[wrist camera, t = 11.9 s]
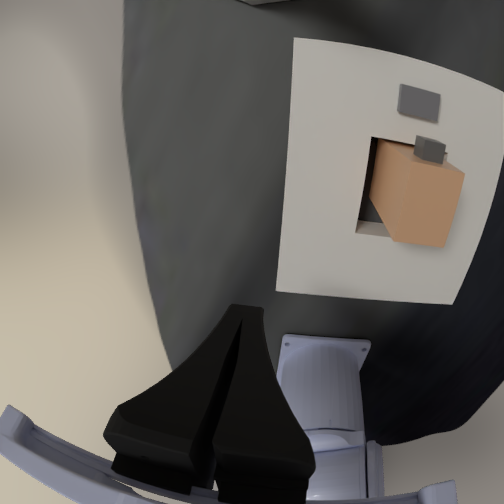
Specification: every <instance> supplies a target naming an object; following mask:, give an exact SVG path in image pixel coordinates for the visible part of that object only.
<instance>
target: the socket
mask: <svg viewBox="0 0 504 504" xmlns="http://www.w3.org/2000/svg"><path fill="white" fill-rule="evenodd" d="M416 135H418V136H423V137H427V138H431V139H435V140H437V141H439V142H441V143H443V144H445V145H446V149H445V154H444V160H445V161H447V162H448V163H450V164H452V165H453V166H455V167H456V168H458V169H459V170H461V171H462V172H463V173H465V177H464V181H463V185H462V189H461V193H460V197H459V200H458V204H457V208H456V211H455V214H454V218H453V221H452V224H451V228H450V231H449V234H448V237H447V240H446V243H445V246H444V248H441V247H434V246H426V245H418V244H411V243H403V242H394V241H393V240H392V238H391V236H390V234H389V232H388V230H387V229H386V227H385V225H384V224H383V223H376V222H368V221H360V220H358V215H359V210H360V204H361V199H362V193H363V187H364V182H365V176H366V169H367V163H368V156H369V149H370V142H371V136H372V137H378V138H383V139H389V140H394V141H399V142H404V143H409V144H413V145H415V140H416ZM503 156H504V92H502V91H500V90H498V89H496V88H494V87H491V86H489V85H487V84H485V83H482V82H480V81H478V80H475V79H473V78H470V77H468V76H465V75H463V74H460V73H457V72H454V71H452V70H449V69H446V68H443V67H440V66H437V65H434V64H431V63H428V62H424V61H421V60H417V59H414V58H410V57H407V56H403V55H399V54H395V53H391V52H386V51H382V50H377V49H373V48H368V47H362V46H357V45H351V44H345V43H338V42H331V41H323V40H315V39H305V38H294V49H293V70H292V90H291V107H290V124H289V139H288V154H287V168H286V181H285V194H284V206H283V218H282V230H281V241H280V252H279V263H278V273H277V283H276V291H282V292H292V293H302V294H313V295H324V296H335V297H347V298H359V299H372V300H386V301H401V302H417V303H434V304H453V302H454V300H455V298H456V295H457V293H458V291H459V289H460V287H461V285H462V282H463V280H464V278H465V275H466V273H467V271H468V268H469V266H470V264H471V261H472V259H473V256H474V254H475V251H476V248H477V246H478V243H479V240H480V238H481V235H482V232H483V229H484V226H485V223H486V220H487V217H488V214H489V210H490V207H491V204H492V200H493V197H494V193H495V190H496V186H497V182H498V178H499V174H500V170H501V165H502V161H503Z"/></svg>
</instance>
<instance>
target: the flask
mask: <svg viewBox="0 0 504 504" xmlns="http://www.w3.org/2000/svg"><path fill="white" fill-rule="evenodd" d="M240 1H243V2H246V3H248V4H251V5H256V4H263V3H271V2H279V1H289V0H240Z"/></svg>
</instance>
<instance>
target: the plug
mask: <svg viewBox="0 0 504 504" xmlns="http://www.w3.org/2000/svg"><path fill="white" fill-rule="evenodd" d="M445 149H446V145H445V144H443V143H441V142H439V141H437V140H435V139H431V138H427V137H423V136H418V135H416V140H415V145H413V144H409V143H404V142H399V141H394V140H389V139H383V138H378V144H377V151H376V158H375V164H374V170H373V176H372V182H371V188H370V193H369V198H370V199H371V201H372V203H373V205H374V206H375V208H376V210H377V212H378V214H379V216H380V217H381V219H382V221H383V223H384V225H385V227H386V229H387V230H388V232H389V234H390V236H391V238H392V240H393V241H394V242H403V243H411V244H418V245H426V246H434V247H441V248H444V246H445V243H446V240H447V237H448V234H449V231H450V228H451V224H452V221H453V218H454V214H455V211H456V208H457V204H458V200H459V197H460V193H461V189H462V185H463V181H464V177H465V173H463V172H462V171H461V170H459V169H458V168H456V167H455V166H453V165H452V164H450V163H448V162H447V161H445V160H444V154H445Z"/></svg>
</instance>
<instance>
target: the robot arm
mask: <svg viewBox="0 0 504 504" xmlns="http://www.w3.org/2000/svg"><path fill="white" fill-rule="evenodd" d="M263 314H264V309H263V308H262V307H254V306H245V305H237V304H231V305H230V306H229V307H228V309H227V311H226V312H225V314H224V315H223V317H222V318H221V320H220V321H219V322H218V324H217V325H216V327H215V328H214V329H213V330H212V332H211V333H210V334H209V335H208V337H207V338H206V339H205V340H204V341H203V342H202V343H201V345H200V346H199V347H198V348H197V349H196V350H195V351H194V352H193V353H192V354H191V355H190V356H189V357H188V358H187V359H186V360H185V361H184V362H183V363H182V364H181V365H180V366H178V367H177V368H176V369H175V370H174V371H172V372H171V373H170V374H169V375H167V376H166V377H165V378H163V379H162V380H161V381H159V382H158V383H157V384H155V385H153V386H152V387H150V388H149V389H147V390H146V391H144V392H143V393H141V394H139V395H137V396H135V397H133V398H132V399H130V400H128V401H126V402H124V403H122V404H120V405H118V406H117V408H116V409H115V411H114V413H113V414H112V416H111V417H110V420H109V422H108V424H107V426H106V428H105V430H104V433H103V437H104V439H105V440H106V442H108V444H109V445H110V446H111V447H112V448H113V449H114V450H115V451H116V452H117V453H116V456H115V458H114V461H113V462H112V461H110V460H107V459H104V458H102V457H100V456H97V455H95V454H93V453H90V452H88V451H86V450H84V449H81V448H79V447H77V446H75V445H73V444H71V443H69V442H66V441H65V440H63V439H61V438H59V437H57V436H55V435H53V434H51V433H49V432H47V431H46V430H43V429H42V428H40V427H38V426H37V425H35V424H34V423H33V422H32V421H31V419H30V418H28V417H27V416H26V415H25V414H23V413H22V412H20V411H19V410H17V409H15V408H14V407H12V406H11V405H7V407H6V409H5V410H4V412H3V414H2V416H1V417H0V454H1V455H2V456H4V457H5V458H7V459H8V460H9V461H10V462H12V463H13V464H15V465H16V466H17V467H19V468H20V469H22V470H23V471H25V472H26V473H28V474H29V475H30V476H32V477H33V478H35V479H37V480H38V481H40V482H41V483H43V484H44V485H46V486H48V487H49V488H51V489H53V490H54V491H56V492H58V493H60V494H62V495H63V496H65V497H67V498H69V499H71V500H72V501H75V502H76V503H79V504H166V503H163V502H159V501H155V500H152V499H148V498H145V497H142V496H141V495H139V494H137V493H136V492H135V491H133V489H132V488H131V487H128V486H126V485H124V484H127V485H130V486H133V487H136V488H139V489H142V490H145V491H148V492H151V493H154V494H157V495H161V496H164V497H168V498H172V499H175V500H179V501H183V502H187V503H191V504H458V503H457V493H456V485H455V481H454V480H449V481H445V482H441V483H436V484H432V485H429V486H426V487H424V488H422V489H420V490H419V491H418V492H412V493H407V494H400V495H393V496H385V497H384V475H383V474H384V473H383V459H382V446H380V445H379V444H377V443H376V442H375V441H374V440H372V441H368V442H367V444H366V438H365V433H364V419H363V407H362V396H361V386H360V377H359V371H360V369H361V367H362V365H363V363H364V360H365V358H366V356H367V354H368V352H369V349H370V347H371V342H370V341H369V340H362V339H344V338H329V337H316V336H304V335H293V334H286V335H284V336H283V338H282V345H281V351H280V358H279V364H278V370H277V376H276V375H275V372H274V369H273V366H272V363H271V359H270V356H269V352H268V348H267V343H266V339H265V333H264V325H263ZM363 348H364V349H363ZM113 479H114V480H113ZM115 480H117V481H119V482H117V481H115ZM214 480H215V481H216V484H217V487H218V491H214V490H212V489H213V485H214ZM120 482H122V483H124V484H122V483H120Z"/></svg>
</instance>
